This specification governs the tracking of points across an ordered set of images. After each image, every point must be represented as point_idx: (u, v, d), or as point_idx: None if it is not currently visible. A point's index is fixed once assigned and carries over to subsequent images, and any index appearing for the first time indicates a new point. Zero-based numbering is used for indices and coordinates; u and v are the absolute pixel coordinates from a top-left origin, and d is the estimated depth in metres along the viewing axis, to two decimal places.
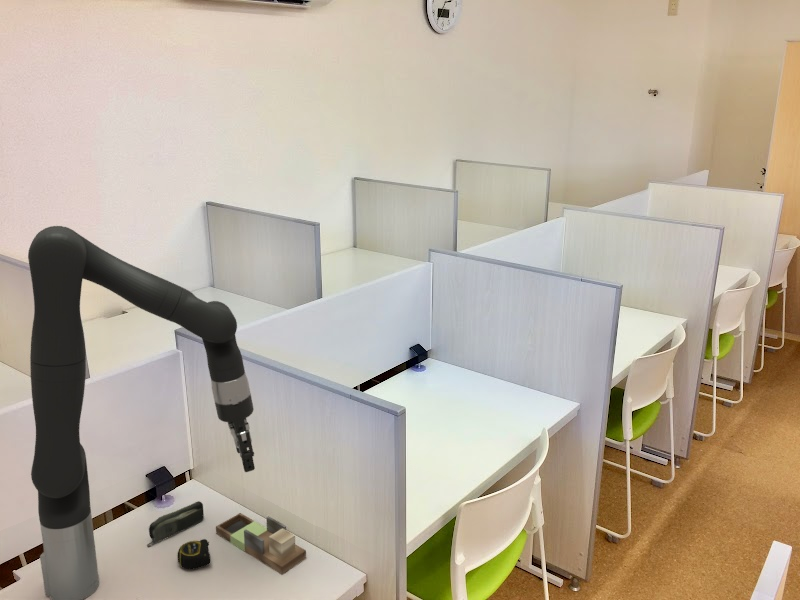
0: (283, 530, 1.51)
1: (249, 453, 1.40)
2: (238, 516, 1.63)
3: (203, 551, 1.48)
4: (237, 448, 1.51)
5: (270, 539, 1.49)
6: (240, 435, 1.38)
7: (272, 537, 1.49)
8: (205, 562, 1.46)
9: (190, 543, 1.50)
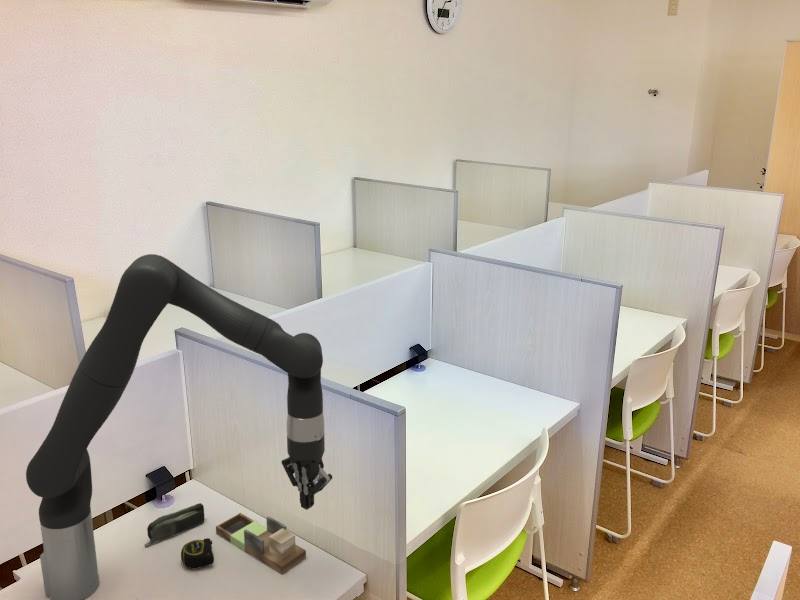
0: (283, 530, 1.51)
1: None
2: (238, 516, 1.63)
3: (207, 550, 1.48)
4: None
5: (270, 539, 1.49)
6: (325, 481, 1.35)
7: (272, 537, 1.49)
8: (208, 561, 1.47)
9: (193, 542, 1.50)
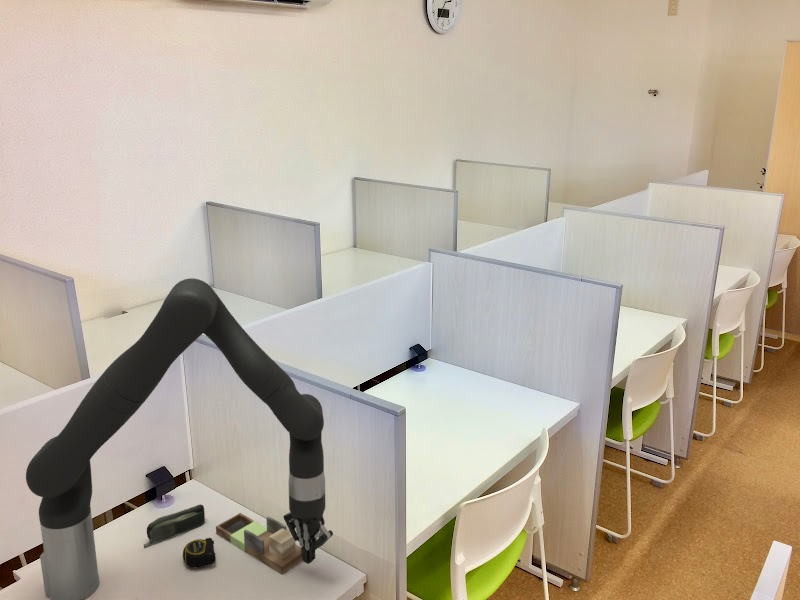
0: (283, 530, 1.51)
1: None
2: (238, 516, 1.63)
3: (208, 550, 1.48)
4: None
5: (270, 539, 1.49)
6: (326, 538, 1.39)
7: (272, 537, 1.49)
8: (210, 561, 1.47)
9: (195, 542, 1.51)
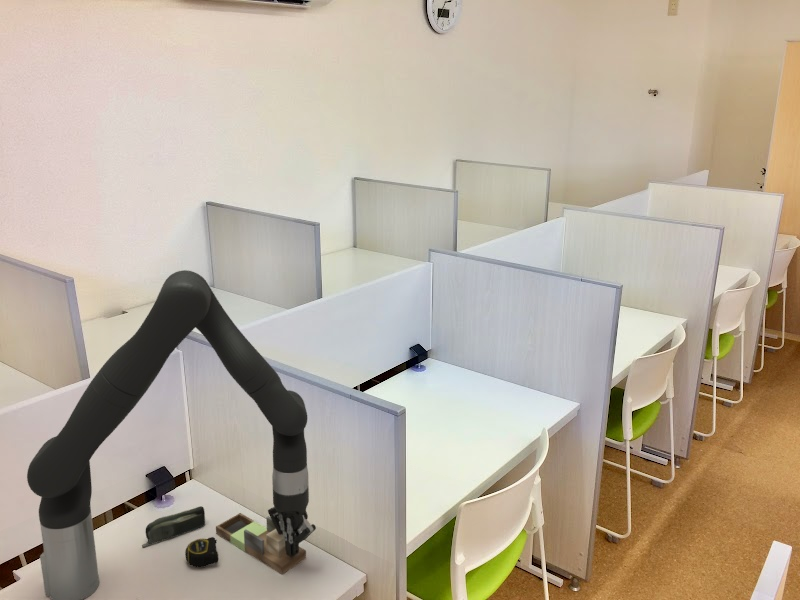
0: None
1: None
2: (238, 516, 1.63)
3: (211, 549, 1.48)
4: None
5: (267, 537, 1.49)
6: (309, 532, 1.42)
7: (269, 535, 1.49)
8: (213, 560, 1.47)
9: (198, 541, 1.51)
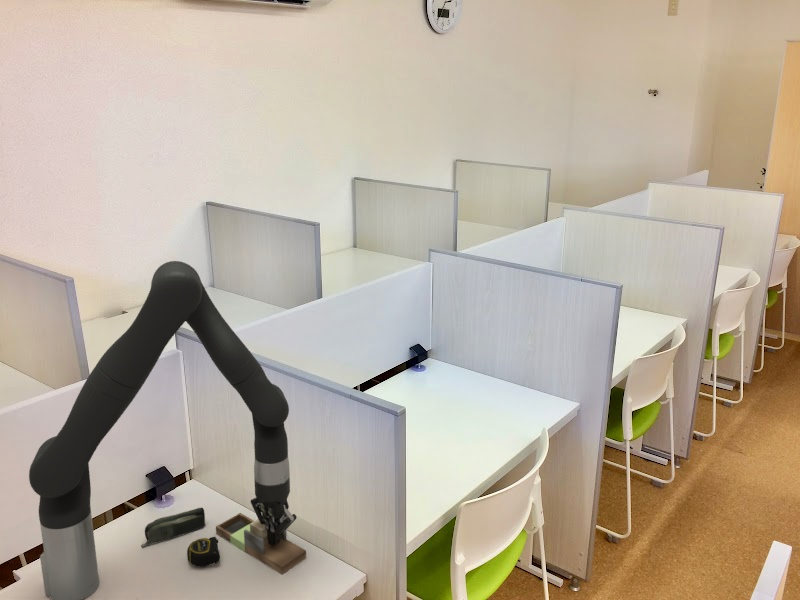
0: None
1: None
2: (238, 516, 1.63)
3: (213, 549, 1.48)
4: None
5: (251, 526, 1.53)
6: (290, 522, 1.45)
7: (253, 524, 1.53)
8: (215, 559, 1.47)
9: (199, 541, 1.51)
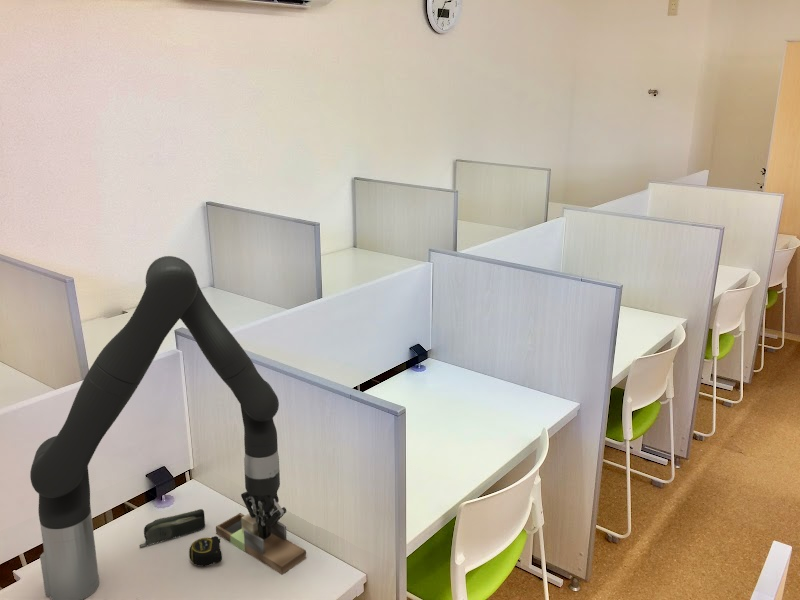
0: None
1: None
2: (238, 516, 1.63)
3: (215, 548, 1.49)
4: None
5: (242, 520, 1.55)
6: (280, 515, 1.47)
7: (244, 518, 1.55)
8: (217, 559, 1.48)
9: (201, 540, 1.51)
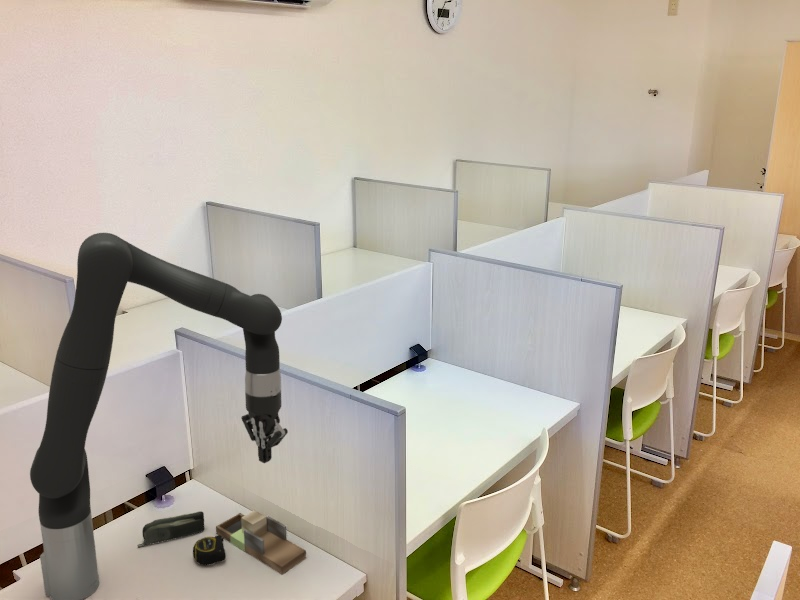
0: (255, 512, 1.58)
1: None
2: (238, 516, 1.63)
3: (218, 547, 1.49)
4: None
5: (242, 520, 1.55)
6: (281, 435, 1.43)
7: (244, 518, 1.55)
8: (220, 558, 1.48)
9: (205, 539, 1.52)
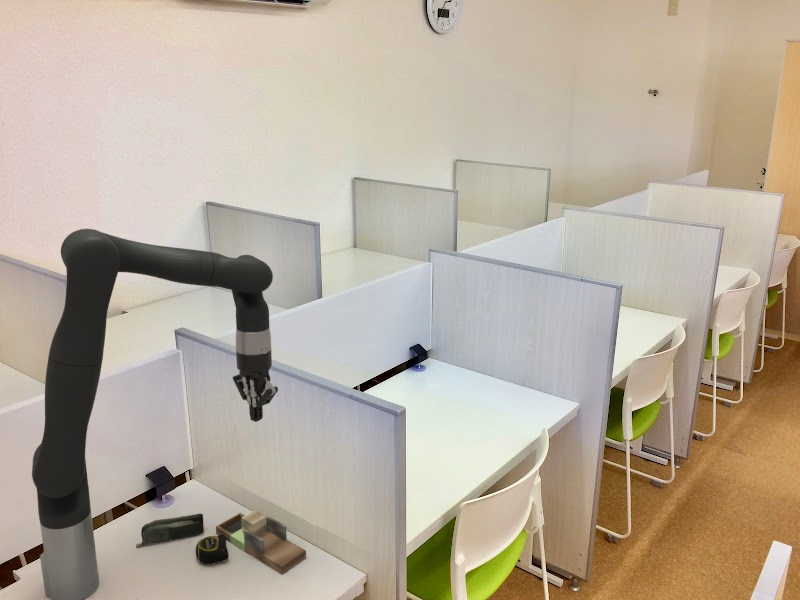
0: (255, 512, 1.58)
1: (266, 400, 1.49)
2: (238, 516, 1.63)
3: (221, 546, 1.49)
4: None
5: (242, 520, 1.55)
6: (271, 392, 1.46)
7: (244, 518, 1.55)
8: (223, 557, 1.48)
9: (208, 538, 1.52)
